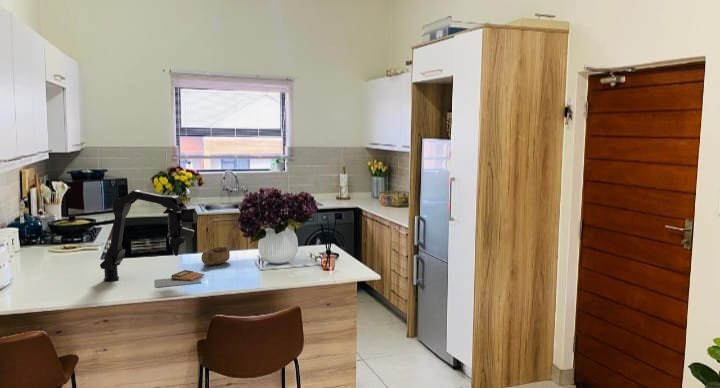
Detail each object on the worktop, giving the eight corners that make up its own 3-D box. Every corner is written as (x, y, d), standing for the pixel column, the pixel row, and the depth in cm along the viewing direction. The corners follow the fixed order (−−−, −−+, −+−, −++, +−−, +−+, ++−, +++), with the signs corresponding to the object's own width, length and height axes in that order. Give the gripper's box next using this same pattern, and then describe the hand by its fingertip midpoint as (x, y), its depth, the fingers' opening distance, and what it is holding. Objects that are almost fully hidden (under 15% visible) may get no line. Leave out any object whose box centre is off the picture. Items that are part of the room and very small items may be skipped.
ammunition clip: (171, 279, 261) (192, 282, 258) (171, 275, 261) (192, 278, 258) (185, 273, 272) (206, 276, 268) (184, 270, 271) (206, 272, 268)
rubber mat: (154, 280, 261) (154, 279, 261) (198, 276, 269) (198, 275, 269) (155, 287, 248) (155, 287, 248) (201, 283, 256) (201, 282, 256)
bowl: (223, 266, 283) (217, 247, 282) (199, 272, 286) (193, 254, 285) (236, 258, 300) (231, 240, 300) (213, 264, 303) (208, 247, 302)
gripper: (194, 224, 252) (196, 258, 254) (190, 219, 269) (192, 250, 271) (168, 226, 248) (170, 260, 249) (166, 220, 265) (168, 252, 267)
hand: (176, 255), depth 259 cm, fingers closed
